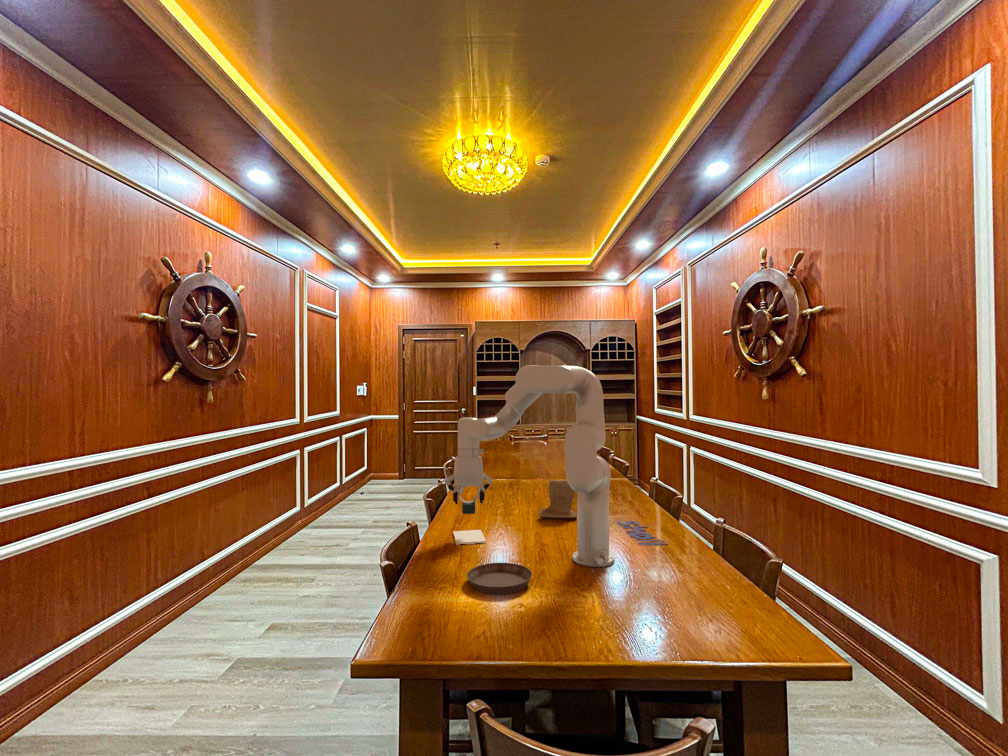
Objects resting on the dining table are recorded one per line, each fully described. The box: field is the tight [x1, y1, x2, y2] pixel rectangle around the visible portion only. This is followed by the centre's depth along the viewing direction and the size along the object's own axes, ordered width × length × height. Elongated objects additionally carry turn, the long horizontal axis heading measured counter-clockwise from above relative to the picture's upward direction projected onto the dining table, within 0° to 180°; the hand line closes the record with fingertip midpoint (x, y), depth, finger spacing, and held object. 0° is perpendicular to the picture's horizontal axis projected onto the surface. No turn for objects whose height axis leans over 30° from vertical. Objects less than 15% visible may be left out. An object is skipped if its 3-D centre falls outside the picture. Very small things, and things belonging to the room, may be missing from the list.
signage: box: [616, 520, 669, 546], centre depth 182 cm, size 28×1×10 cm
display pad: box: [452, 529, 487, 546], centre depth 176 cm, size 13×10×1 cm
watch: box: [457, 486, 480, 515], centre depth 176 cm, size 6×8×11 cm
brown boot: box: [538, 479, 577, 519], centre depth 203 cm, size 15×12×15 cm
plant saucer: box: [466, 562, 533, 595], centre depth 137 cm, size 18×18×3 cm
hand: (468, 502), depth 176 cm, fingers closed on watch, 8 cm apart
